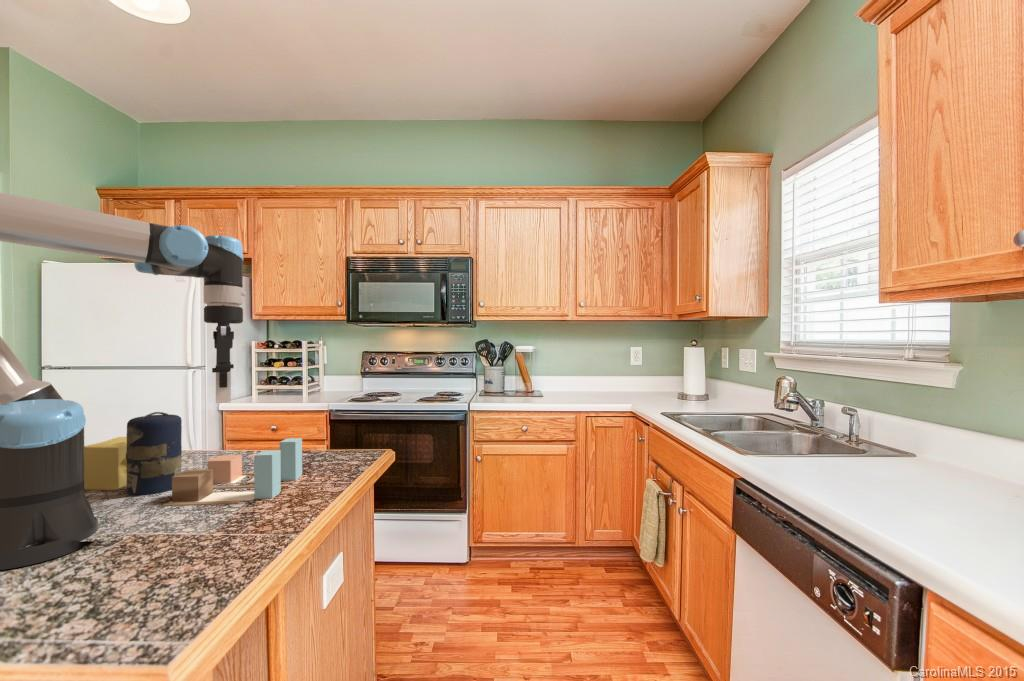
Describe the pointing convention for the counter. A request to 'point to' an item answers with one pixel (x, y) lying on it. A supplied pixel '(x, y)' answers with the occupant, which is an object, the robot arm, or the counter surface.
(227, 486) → the lane frame
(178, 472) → the canister
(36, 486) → the robot arm
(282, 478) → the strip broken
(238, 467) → the block clay
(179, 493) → the block walnut
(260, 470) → the multicoloured block
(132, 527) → the counter surface
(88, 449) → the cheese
